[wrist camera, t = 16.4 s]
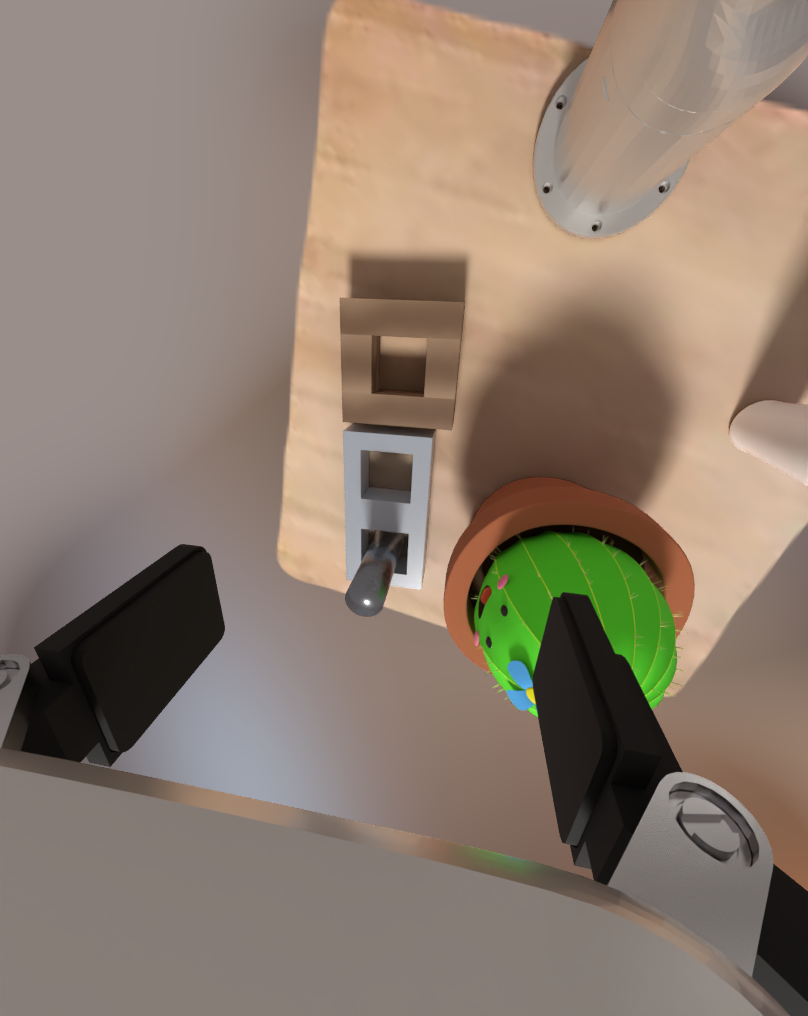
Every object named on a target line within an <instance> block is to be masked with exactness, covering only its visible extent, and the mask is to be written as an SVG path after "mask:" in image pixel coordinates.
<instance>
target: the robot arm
mask: <svg viewBox="0 0 808 1016" xmlns="http://www.w3.org/2000/svg"><path fill="white" fill-rule="evenodd" d="M807 57H808V0H613V3H612V5H611V7H610V10H609V12H608V15H607V17H606V19H605V21H604V24H603V26H602V28H601V31H600V33H599V35H598V38H597V40H596V43H595V45H594V47H593V50H592V52H591V54H590V56H589V57H588V58H586V59H585V60H584V61H582V62H581V63H580V64H579V65H578V66H577V67H576V68H575V69H574V70H573V71H572V72H571V73H570V74H569V75H568V76H567V78H566V79H565V80H564V82H563V83H562V84H561V86H560V87H559V89H558V90H557V91H556V93H555V95H554V96H553V98H552V100H551V102H550V104H549V106H548V108H547V110H546V112H545V114H544V117H543V120H542V122H541V125H540V128H539V132H538V135H537V139H536V142H535V149H534V156H533V180H534V185H535V191H536V195H537V197H538V200H539V202H540V205H541V207H542V209H543V211H544V212H545V214H546V215H547V217H548V218H549V219H550V220H551V221H552V222H553V223H554V224H555V225H556V226H557V227H558V228H559V229H561V230H562V231H564V232H566V233H567V234H569V235H572V236H575V237H579V238H582V239H601V238H608V237H611V236H614V235H617V234H620V233H623V232H625V231H627V230H628V229H630V228H632V227H634V226H636V225H637V224H639V223H640V222H641V221H643V220H644V219H646V218H647V217H649V216H650V215H651V214H652V213H653V212H654V211H655V210H656V209H657V208H658V207H659V206H660V205H662V203H663V202H664V201H665V200H666V199H667V198H668V196H669V195H670V194H671V193H672V191H673V190H674V189H675V187H676V185H677V184H678V182H679V180H680V179H681V177H682V175H683V174H684V172H685V170H686V167H687V165H688V163H689V161H690V158H692V157H693V156H694V155H695V154H697V153H698V152H699V151H700V150H701V149H703V148H704V147H705V146H706V145H707V144H709V143H710V142H711V141H712V140H714V139H715V138H716V137H717V136H718V135H720V134H721V133H722V132H723V131H725V130H726V129H727V128H728V127H729V126H731V125H732V124H733V123H734V122H736V121H737V120H738V119H739V118H740V117H742V116H743V115H744V114H745V113H747V112H748V111H749V110H750V109H751V108H753V107H754V106H755V105H756V104H757V103H758V102H760V101H761V100H762V99H763V98H764V97H766V96H767V95H768V94H769V93H770V92H772V91H773V90H774V89H775V88H776V87H778V86H779V85H780V84H781V83H782V82H783V81H784V80H785V79H786V78H787V77H788V76H789V75H790V74H791V73H792V72H793V71H794V70H795V69H796V68H797V67H798V66H799V65H800V64H801V63H802V62H803V61H804V60H805V59H806V58H807ZM557 105H561V106H562V109H561V110H559V109H557V108H556V106H557ZM659 187H661V188H662V193H660V192H659ZM544 188H548V189H549V192H548V193H544V192H543V189H544ZM592 226H596V227H597V230H596V231H592ZM224 631H225V625H224V620H223V615H222V610H221V605H220V600H219V595H218V590H217V584H216V580H215V574H214V569H213V565H212V560H211V556H210V554H209V553H207V552H206V550H205V549H204V548H203V547H201V546H193V545H185V544H181V545H179V546H177V547H176V548H174V549H173V550H171V551H170V552H168V553H167V554H166V555H164V556H163V557H161V558H160V559H159V560H157V561H156V562H154V563H153V564H151V565H150V566H149V567H147V568H146V569H144V570H143V571H142V572H140V573H139V574H138V575H136V576H134V577H133V578H132V579H130V580H129V581H127V582H126V583H125V584H123V585H122V586H120V587H119V588H118V589H116V590H115V591H113V592H112V593H110V594H109V595H108V596H106V597H105V598H103V599H102V600H101V601H99V602H98V603H96V604H95V605H93V606H92V607H91V608H89V609H88V610H86V611H85V612H84V613H82V614H81V615H79V616H78V617H77V618H75V619H74V620H72V621H71V622H69V623H68V624H67V625H66V626H64V627H62V628H61V629H60V630H58V631H57V632H55V633H54V634H53V635H51V636H50V637H48V638H47V639H45V640H44V641H43V642H41V643H40V644H38V645H37V646H35V647H34V649H35V650H36V653H37V655H38V657H39V659H38V660H36V661H35V662H33V663H32V664H31V663H30V661H29V660H28V659H27V658H26V657H25V656H21V655H2V656H0V1016H808V891H807V890H805V889H804V888H803V887H802V886H800V885H799V884H798V883H796V882H795V881H794V880H793V879H792V878H790V877H789V876H788V875H787V874H785V873H784V872H783V871H782V870H780V869H779V868H778V867H777V866H775V865H774V864H773V853H772V850H771V847H770V845H769V842H768V839H767V837H766V834H765V833H764V831H763V830H762V829H761V827H760V825H759V824H758V822H757V821H756V820H755V818H754V817H753V816H752V815H751V814H750V812H749V811H748V810H747V809H746V808H745V807H744V806H743V805H742V804H741V803H740V802H739V801H738V800H737V799H735V798H734V797H733V796H731V795H730V794H729V793H728V792H727V791H725V790H724V789H723V788H721V787H720V786H718V785H716V784H714V783H713V782H711V781H709V780H707V779H705V778H703V777H699V776H697V775H694V774H691V773H683V772H682V770H681V768H680V766H679V764H678V762H677V760H676V758H675V756H674V754H673V752H672V749H671V747H670V745H669V743H668V741H667V739H666V737H665V735H664V733H663V731H662V729H661V727H660V725H659V723H658V721H657V719H656V717H655V715H654V713H653V711H652V709H651V707H650V705H649V703H648V701H647V699H646V697H645V695H644V693H643V691H642V689H641V687H640V685H639V683H638V681H637V679H636V676H635V674H634V672H633V670H632V668H631V666H630V664H629V663H628V661H627V659H626V658H625V657H624V656H622V655H620V654H615V652H614V650H613V648H612V645H611V643H610V641H609V639H608V637H607V635H606V632H605V630H604V628H603V626H602V624H601V622H600V620H599V617H598V615H597V613H596V611H595V609H594V607H593V605H592V602H591V600H590V598H589V597H588V596H587V595H583V594H575V593H567V592H563V593H562V594H561V595H560V597H553V599H552V602H551V606H550V610H549V614H548V618H547V622H546V626H545V630H544V634H543V638H542V642H541V646H540V650H539V654H538V658H537V661H536V665H535V669H534V673H533V691H534V697H535V702H536V708H537V713H538V719H539V724H540V729H541V735H542V741H543V746H544V752H545V757H546V763H547V768H548V774H549V779H550V785H551V790H552V795H553V801H554V807H555V812H556V817H557V823H558V828H559V833H560V837H561V840H562V842H563V843H565V844H570V847H571V852H572V856H573V862H574V865H575V866H579V867H584V868H589V869H592V873H593V878H594V880H591V879H589V878H586V877H584V876H580V875H577V874H573V873H570V872H567V871H564V870H560V869H557V868H553V867H550V866H546V865H543V864H540V863H536V862H533V861H529V860H524V859H520V858H516V857H511V856H508V855H503V854H499V853H495V852H491V851H486V850H483V849H478V848H474V847H470V846H466V845H461V844H458V843H453V842H449V841H445V840H441V839H436V838H431V837H427V836H422V835H418V834H413V833H409V832H403V831H399V830H395V829H390V828H386V827H381V826H376V825H372V824H367V823H363V822H358V821H354V820H349V819H345V818H340V817H336V816H331V815H326V814H322V813H317V812H312V811H308V810H303V809H299V808H294V807H289V806H285V805H279V804H275V803H271V802H266V801H261V800H257V799H252V798H247V797H242V796H237V795H233V794H228V793H224V792H219V791H214V790H209V789H205V788H200V787H195V786H190V785H186V784H181V783H176V782H171V781H167V780H162V779H157V778H152V777H147V776H143V775H138V774H133V773H128V772H123V771H118V770H113V769H109V768H104V767H99V766H94V765H89V764H84V763H80V762H81V761H82V760H83V759H84V758H85V757H87V759H88V761H89V762H90V763H94V764H99V765H104V766H108V767H111V766H112V764H113V763H114V762H115V761H116V760H117V758H118V757H119V756H120V755H121V754H122V752H126V751H127V750H129V749H130V748H131V747H132V746H133V745H134V744H135V743H136V742H137V740H138V739H139V738H140V737H141V736H142V734H143V733H144V732H145V731H146V730H147V728H148V727H149V726H150V725H151V724H152V722H153V721H154V720H155V719H156V718H157V716H158V715H159V714H160V713H161V712H162V710H163V709H164V708H165V707H166V705H167V704H168V703H169V702H170V701H171V699H172V698H173V697H174V696H175V695H176V693H177V692H178V691H179V690H180V689H181V687H182V686H183V685H184V684H185V682H186V681H187V680H188V679H189V678H190V676H191V675H192V674H193V673H194V672H195V670H196V669H197V668H198V667H199V665H200V664H201V663H202V662H203V661H204V660H205V658H206V657H207V656H208V655H209V654H210V652H211V651H212V650H213V649H214V647H215V646H216V645H217V644H218V642H219V641H220V640H221V639H222V637H223V635H224Z"/></svg>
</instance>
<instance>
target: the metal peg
mask: <svg viewBox="0 0 808 1016" xmlns="http://www.w3.org/2000/svg"><path fill="white" fill-rule="evenodd" d="M404 540H405V535H404V533H397V532H388V531H379V530H377V531H376V533H375V535H374V537H373V539H372V541H371V543H370V546H369V548H368V550H367V552H366V554H365V556H364V558H363V560H362V562H361V564H360V566H359V568H358V570H357V572H356V574H355V576H354V578H353V580H352V582H351V584H350V586H349V588H348V590H347V592H346V596H345V600H346V604H347V606H348V607H349V609H350V610H351V611H353V612H354V613H356V614H357V615H361V616H364V617H370V616H374V615H376V614H378V613H379V612H380V611H381V610H382V608H383V605H384V602H385V599H386V596H387V593H388V589H389V586H390V583H391V580H392V577H393V574H394V571H395V568H396V565H397V562H398V559H399V556H400V553H401V550H402V547H403V544H404Z"/></svg>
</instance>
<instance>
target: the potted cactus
mask: <svg viewBox="0 0 808 1016" xmlns="http://www.w3.org/2000/svg"><path fill="white" fill-rule="evenodd" d="M563 592H567V593H575V594H583V595H587V596H588V597H589V598H590V600H591V602H592V605H593V607H594V609H595V611H596V613H597V615H598V617H599V620H600V622H601V624H602V626H603V628H604V630H605V632H606V635H607V637H608V639H609V641H610V643H611V645H612V648H613V650H614V652H615V654H620V655H622V656H624V657H625V658H626V659H627V661H628V663H629V664H630V666H631V668H632V670H633V672H634V674H635V676H636V679H637V681H638V683H639V685H640V687H641V689H642V691H643V693H644V695H645V697H646V699H647V701H648V703H649V705H650V707H651V709H653V708H655V707H656V706H657V705H658V704H659V703H660V701H661V700H662V698H663V696H664V692H666V691H665V690H666V689H667V688H668V686H669V685H670V683H671V681H672V679H673V677H674V674H675V670H679V669H676V665H677V653H676V648H678V650H679V649H683V648H680V647H675V642H676V638H677V637H678V635H679V634H680V632H682V629H683V627H684V625H685V623H686V621H687V619H688V616H689V614H690V611H691V607H692V603H693V598H694V576H693V572H692V568H691V565H690V563H689V561H688V559H687V556H686V555H685V553H684V552H683V550H682V549H681V547H680V546H679V545H678V544H677V543H676V542H675V540H674V539H673V538H672V537H671V536H670V535H669V534H668V533H667V532H666V531H665V530H664V529H663V528H662V527H661V526H660V525H659V524H658V523H657V522H655V521H654V520H653V519H652V518H651V517H650V516H648V515H647V514H646V513H644V512H643V511H641V510H640V509H639V508H637V507H635V506H633V505H632V504H630V503H628V502H626V501H624V500H621V499H619V498H617V497H614V496H611V495H608V494H605V493H602V492H598V491H594V490H589V489H586V488H584V487H582V486H580V485H578V484H575V483H573V482H570V481H566V480H562V479H557V478H551V477H530V478H524V479H520V480H516V481H513V482H511V483H508V484H506V485H504V486H502V487H501V488H499V489H498V490H496V491H495V492H494V493H493V494H492V495H490V496H489V497H488V499H487V500H486V501H485V502H484V503H483V504H482V506H481V507H480V509H479V510H478V512H477V513H476V515H475V517H474V520H473V521H472V522H471V524H470V525H469V526H468V527H467V528H466V530H465V531H464V533H463V534H462V536H461V537H460V539H459V540H458V542H457V544H456V546H455V548H454V550H453V553H452V555H451V558H450V561H449V564H448V568H447V573H446V582H445V592H444V615H445V620H446V624H447V628H448V630H449V633H450V635H451V637H452V639H453V641H454V642H455V644H456V645H457V646H458V648H459V649H460V650H461V651H462V652H463V653H464V654H465V656H467V657H468V658H469V659H470V660H471V661H472V662H474V663H475V664H477V665H478V666H479V667H481V668H482V669H484V670H486V671H487V672H489V673H491V674H493V676H494V677H495V679H496V680H497V681H498V683H499V685H501V686H502V687H503V689H504V690H505V691H506V692H507V695H508V697H509V698H510V700H511V701H512V702H511V703H513V704H514V705H515V706H516V707H517V709H520V710H528V711H529V712H531V713H532V714H534V715H535V716H537V717H538V713H537V708H536V702H535V697H534V691H533V673H534V669H535V665H536V661H537V658H538V654H539V650H540V646H541V642H542V638H543V634H544V630H545V626H546V622H547V618H548V614H549V610H550V606H551V602H552V599H553V597H560V595H561V594H562V593H563ZM687 633H688V632H687ZM677 639H678V638H677ZM681 651H682V650H681ZM678 657H679V658H681V656H678ZM681 671H683V670H681ZM673 683H674V682H672V684H673ZM674 684H676V683H674ZM677 685H679V684H677ZM496 686H498V685H496ZM496 686H495V687H496ZM680 686H681V685H680ZM670 687H671V686H670ZM672 687H673V686H672ZM503 689H502V690H503ZM678 689H679V688H678ZM675 690H676V689H675ZM500 691H501V690H500ZM666 693H667V694H668V692H666ZM669 695H670V693H669ZM671 695H672V694H671ZM508 697H507V698H508Z"/></svg>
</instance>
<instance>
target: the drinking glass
mask: <svg viewBox="0 0 808 1016" xmlns="http://www.w3.org/2000/svg"><path fill="white" fill-rule="evenodd" d="M729 436H730V440H731V442H732V443H733V445H734V446H735V447H736V448H738V449H739V450H741V451H743V452H746V453H748V454H751V455H753V456H754V457H756V458H758V459H760V460H762V461H763V462H765V463H767V464H769V465H771V466H772V467H774V468H776V469H778V470H779V471H781V472H783V473H785V474H786V475H788V476H790V477H791V478H793V479H795V480H797V481H798V482H800V483H802V484H804V485H806V486H807V487H808V405H807V404H796V403H787V402H781V401H776V400H764V401H759V402H756V403H753V404H751V405H749V406H747V407H746V408H744V409H743V410H742V411H741V412H739V413H738V414H737V416H736V417H735V418H734V420H733V421H732V423H731V426H730V430H729Z"/></svg>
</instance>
